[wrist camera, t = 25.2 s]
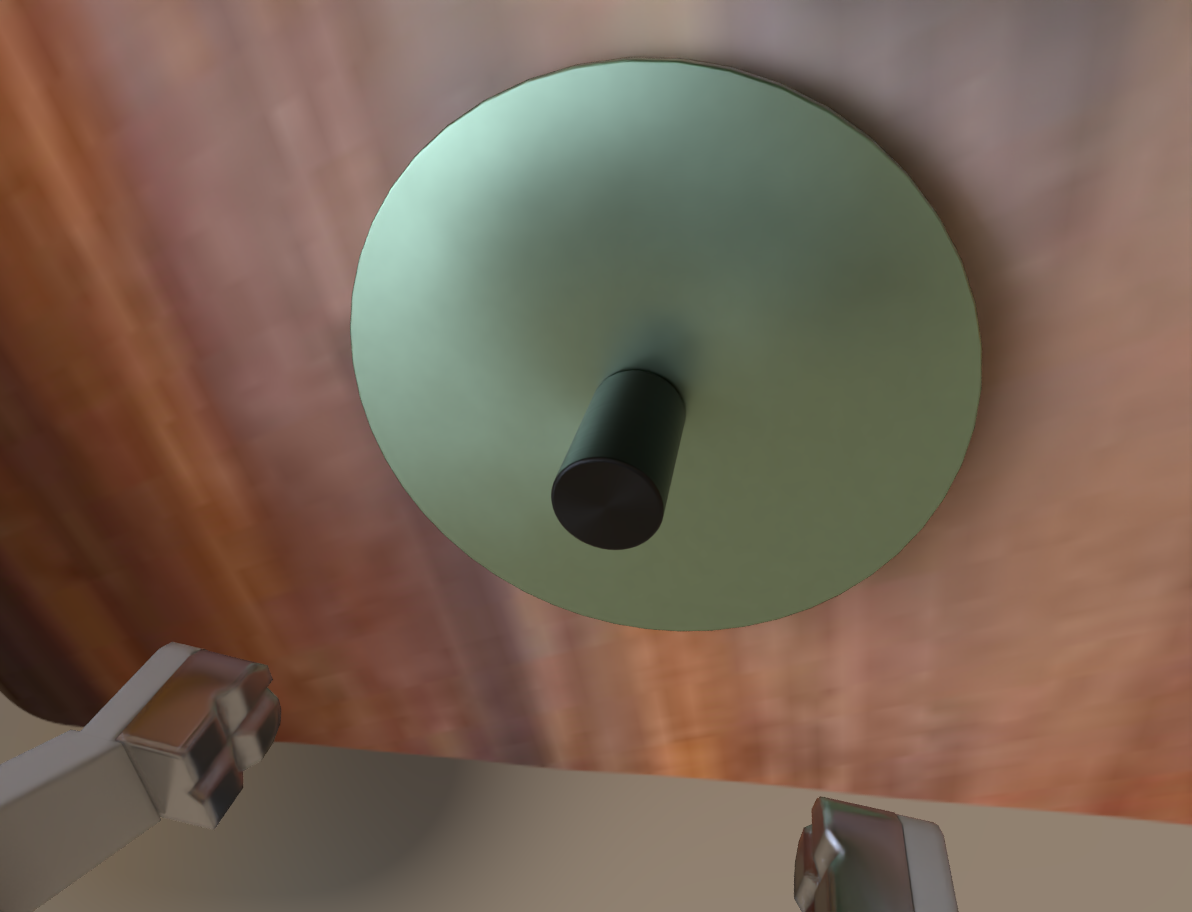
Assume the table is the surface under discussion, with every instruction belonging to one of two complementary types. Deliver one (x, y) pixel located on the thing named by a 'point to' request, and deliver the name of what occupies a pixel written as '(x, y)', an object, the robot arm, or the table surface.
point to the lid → (666, 344)
